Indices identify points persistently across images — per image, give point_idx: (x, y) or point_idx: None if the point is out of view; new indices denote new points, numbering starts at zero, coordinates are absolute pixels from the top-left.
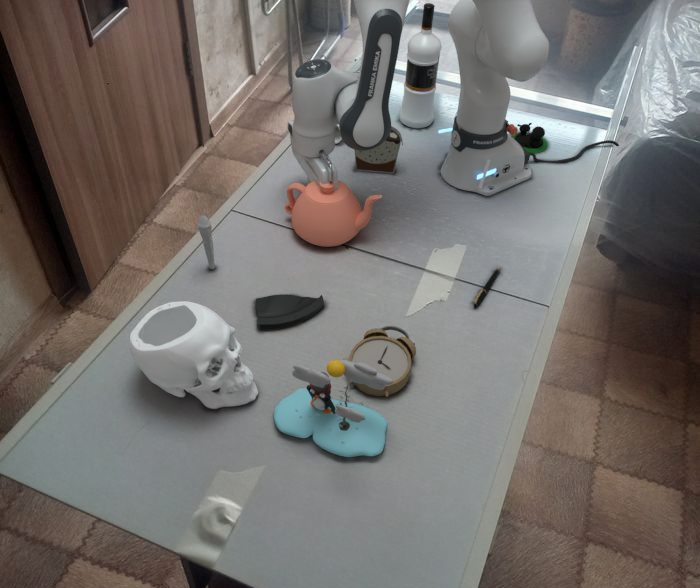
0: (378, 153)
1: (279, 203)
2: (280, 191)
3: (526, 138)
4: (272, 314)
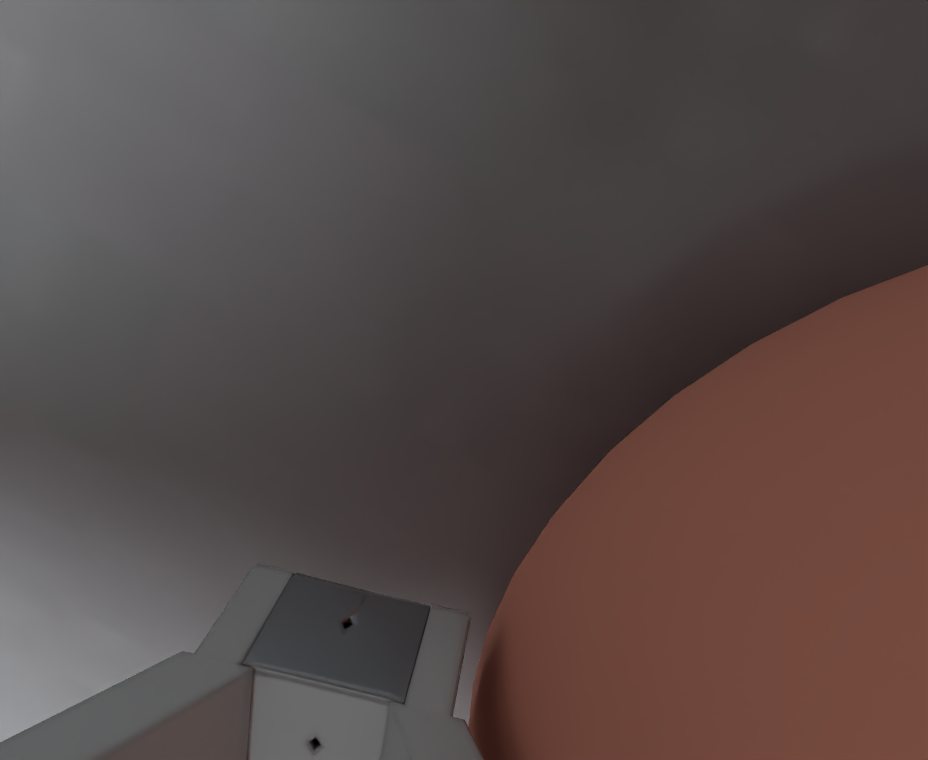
0: None
1: None
2: (18, 649)
3: None
4: None
